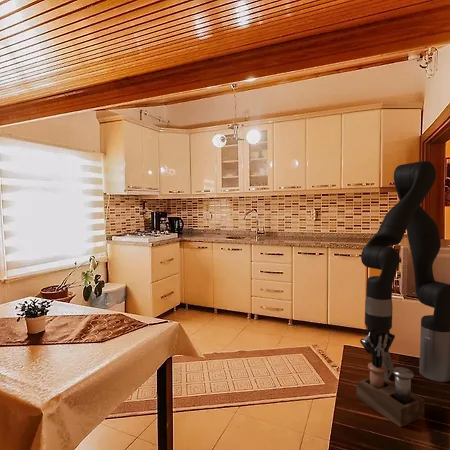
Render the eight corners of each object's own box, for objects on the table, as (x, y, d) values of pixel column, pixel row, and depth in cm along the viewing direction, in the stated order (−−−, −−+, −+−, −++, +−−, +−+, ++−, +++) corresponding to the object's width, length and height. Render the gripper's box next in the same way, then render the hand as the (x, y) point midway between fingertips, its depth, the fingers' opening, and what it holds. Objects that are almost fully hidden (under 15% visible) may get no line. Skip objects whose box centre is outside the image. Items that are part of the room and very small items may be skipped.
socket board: (378, 389, 105) (379, 374, 105) (424, 416, 92) (424, 399, 91) (356, 397, 101) (356, 381, 101) (400, 427, 87) (400, 409, 87)
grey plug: (399, 390, 96) (400, 365, 95) (416, 399, 91) (417, 373, 90) (387, 394, 93) (388, 369, 93) (404, 404, 89) (405, 378, 88)
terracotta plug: (375, 384, 103) (375, 361, 103) (389, 392, 99) (390, 368, 98) (363, 388, 101) (364, 364, 101) (377, 397, 96) (378, 372, 96)
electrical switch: (388, 381, 110) (385, 354, 110) (372, 377, 113) (369, 351, 113) (394, 370, 117) (392, 344, 117) (378, 367, 121) (376, 342, 121)
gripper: (382, 304, 105) (381, 356, 106) (352, 310, 99) (351, 365, 100) (404, 311, 98) (402, 367, 99) (373, 318, 92) (372, 377, 93)
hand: (377, 366), depth 99 cm, fingers closed
